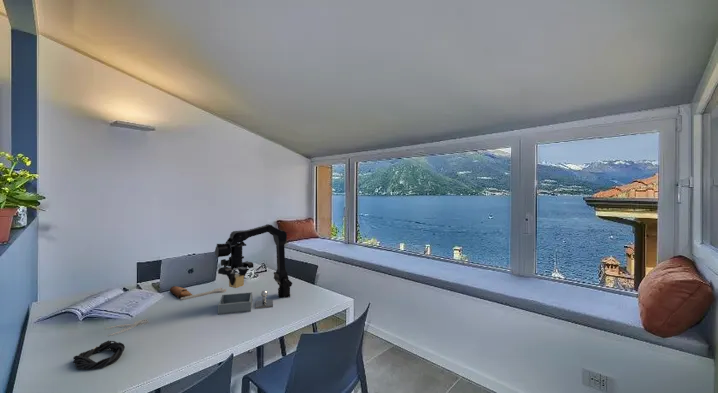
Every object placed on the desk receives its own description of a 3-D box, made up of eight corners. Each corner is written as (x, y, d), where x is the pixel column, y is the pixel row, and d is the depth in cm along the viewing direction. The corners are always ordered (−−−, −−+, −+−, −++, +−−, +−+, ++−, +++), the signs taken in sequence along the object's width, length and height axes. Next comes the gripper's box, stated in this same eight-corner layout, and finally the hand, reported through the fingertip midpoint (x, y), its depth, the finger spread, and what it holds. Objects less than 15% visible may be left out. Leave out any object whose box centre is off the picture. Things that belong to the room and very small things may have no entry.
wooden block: (237, 284, 164) (237, 273, 164) (243, 285, 162) (243, 275, 162) (229, 286, 160) (229, 276, 160) (235, 288, 157) (235, 277, 157)
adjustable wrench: (181, 301, 170) (181, 298, 170) (178, 298, 175) (178, 295, 175) (227, 292, 187) (227, 289, 186) (223, 289, 191) (223, 286, 191)
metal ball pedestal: (272, 301, 171) (272, 287, 171) (272, 307, 162) (273, 292, 162) (256, 302, 168) (256, 288, 168) (255, 308, 160) (255, 293, 159)
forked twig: (105, 326, 134) (145, 316, 145) (105, 329, 134) (145, 319, 145) (108, 333, 127) (150, 322, 138) (108, 337, 127) (150, 326, 138)
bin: (252, 301, 171) (252, 292, 171) (250, 311, 156) (250, 301, 156) (222, 303, 166) (222, 294, 166) (218, 314, 151) (218, 304, 151)
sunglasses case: (194, 295, 178) (188, 287, 175) (183, 304, 174) (176, 296, 171) (184, 288, 190) (178, 281, 188) (173, 296, 186) (167, 289, 183)
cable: (128, 362, 109) (128, 350, 109) (75, 379, 99) (75, 366, 99) (119, 345, 121) (119, 334, 121) (71, 358, 111) (71, 347, 111)
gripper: (240, 250, 173) (240, 277, 173) (211, 256, 156) (210, 286, 156) (254, 252, 167) (254, 280, 168) (225, 258, 151) (225, 289, 151)
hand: (236, 283), depth 161 cm, fingers closed on wooden block, 5 cm apart
